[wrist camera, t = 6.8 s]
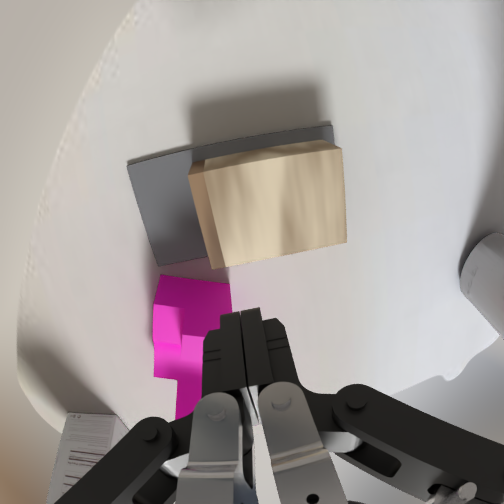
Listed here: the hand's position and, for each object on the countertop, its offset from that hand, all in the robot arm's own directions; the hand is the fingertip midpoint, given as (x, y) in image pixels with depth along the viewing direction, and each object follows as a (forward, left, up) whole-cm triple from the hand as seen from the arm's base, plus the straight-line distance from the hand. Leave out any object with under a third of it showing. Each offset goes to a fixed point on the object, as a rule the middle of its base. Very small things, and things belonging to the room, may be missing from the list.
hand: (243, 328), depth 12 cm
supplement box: (+27, +31, -15) cm, 44 cm away
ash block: (+2, 0, -12) cm, 12 cm away
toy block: (+7, +13, -15) cm, 21 cm away
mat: (-1, 0, -15) cm, 15 cm away
